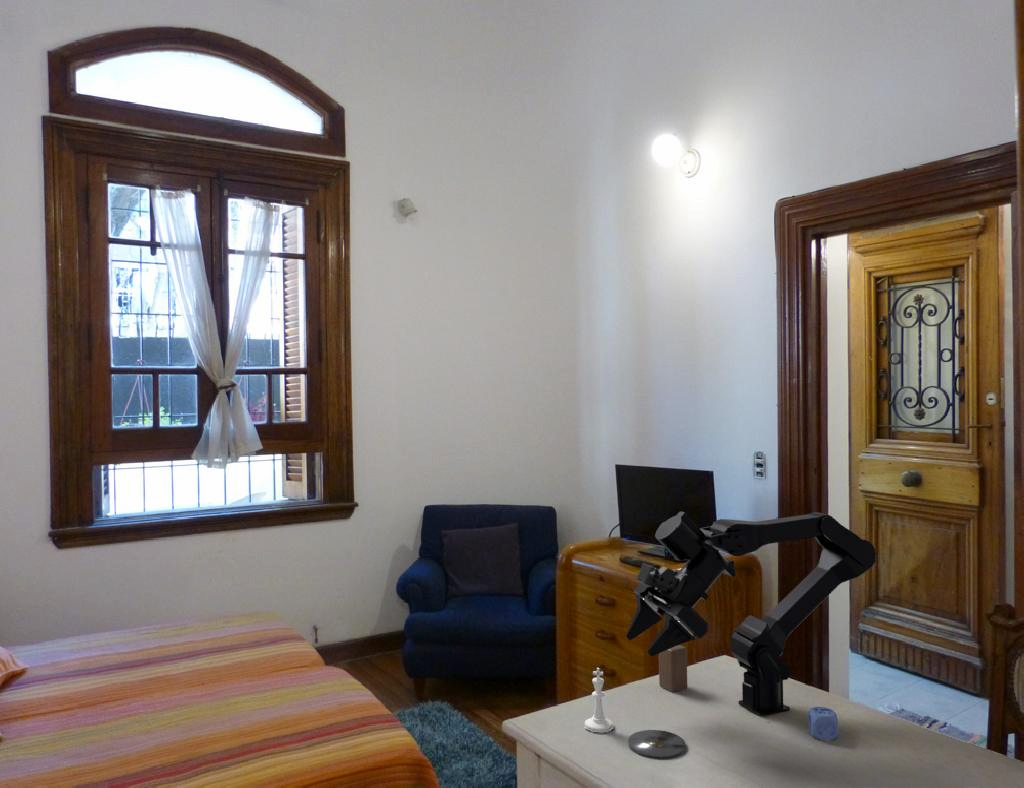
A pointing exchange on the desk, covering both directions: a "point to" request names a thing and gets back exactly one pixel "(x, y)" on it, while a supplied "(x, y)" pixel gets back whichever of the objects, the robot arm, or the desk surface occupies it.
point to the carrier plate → (656, 744)
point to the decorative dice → (823, 723)
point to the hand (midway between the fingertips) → (637, 646)
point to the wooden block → (673, 668)
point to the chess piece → (598, 708)
